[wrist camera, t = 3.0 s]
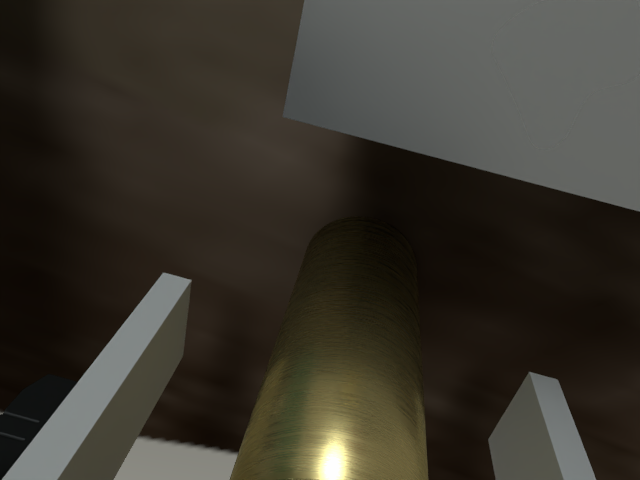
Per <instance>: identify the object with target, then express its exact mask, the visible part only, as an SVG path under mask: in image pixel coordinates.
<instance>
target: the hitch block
mask: <svg viewBox="0 0 640 480" xmlns="http://www.w3.org/2000/svg"><path fill="white" fill-rule="evenodd" d="M283 117H285V118H289V119H293V120H297V121H300V122H304V123H308V124H312V125H315V126H319V127H323V128H327V129H330V130H334V131H338V132H342V133H345V134H349V135H353V136H357V137H361V138H364V139H368V140H372V141H376V142H379V143H383V144H387V145H391V146H394V147H398V148H402V149H406V150H410V151H413V152H417V153H421V154H425V155H428V156H432V157H436V158H440V159H443V160H447V161H451V162H455V163H459V164H462V165H466V166H470V167H474V168H477V169H481V170H485V171H489V172H492V173H496V174H500V175H504V176H507V177H511V178H515V179H519V180H523V181H526V182H530V183H534V184H538V185H541V186H545V187H549V188H553V189H556V190H560V191H564V192H568V193H572V194H575V195H579V196H583V197H587V198H590V199H594V200H598V201H602V202H605V203H609V204H613V205H617V206H620V207H624V208H628V209H632V210H636V211H639V212H640V0H305V1H304V6H303V11H302V17H301V22H300V27H299V33H298V38H297V43H296V48H295V54H294V59H293V64H292V70H291V75H290V80H289V86H288V91H287V96H286V102H285V107H284V112H283Z"/></svg>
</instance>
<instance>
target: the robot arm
mask: <svg viewBox="0 0 640 480" xmlns="http://www.w3.org/2000/svg"><path fill="white" fill-rule="evenodd" d="M190 289H191V280H189V279H185V278H182V277H178V276H174V275H171V274H167V273H163V274H162V275H161V276H160V278H159V279H158V280H157V282H156V283H155V284H154V285H153V287H152V288H151V289H150V291H149V292H148V293H147V294H146V296H145V297H144V298H143V300H142V301H141V302H140V303H139V305H138V306H137V307H136V308H135V310H134V311H133V312H132V314H131V315H130V316H129V317H128V319H127V320H126V321H125V323H124V324H123V325H122V326H121V328H120V329H119V330H118V332H117V333H116V334H115V335H114V337H113V338H112V339H111V340H110V342H109V343H108V344H107V346H106V347H105V348H104V349H103V351H102V352H101V353H100V355H99V356H98V357H97V358H96V360H95V361H94V362H93V363H92V365H91V366H90V367H89V369H88V370H87V371H86V372H85V374H84V375H83V376H82V378H81V379H80V380H79V381H78V382H76V381H73V380H69V379H65V378H62V377H58V376H54V375H51V374H48V375H46V376H45V377H43V378H41V379H40V380H38V381H36V382H35V383H33V384H31V385H30V386H28V387H26V388H25V389H23V390H22V391H21V393H20V394H19V395H18V396H17V397H16V398H15V399H14V400H13V401H12V403H11V404H10V405H9V406H8V407H7V408H6V409H5V411H4V413H3V414H1V415H0V480H113V479H114V478H115V476H116V474H117V472H118V470H119V469H120V467H121V465H122V463H123V462H124V460H125V458H126V456H127V454H128V453H129V451H130V449H131V447H132V446H133V444H134V442H135V440H136V439H137V437H138V435H139V433H140V431H141V430H142V428H143V426H144V424H145V423H146V421H147V419H148V417H149V415H150V414H151V412H152V410H153V408H154V407H155V405H156V403H157V401H158V399H159V398H160V396H161V394H162V392H163V391H164V389H165V387H166V385H167V383H168V382H169V380H170V378H171V376H172V375H173V373H174V371H175V369H176V367H177V366H178V364H179V362H180V360H181V359H182V357H183V351H184V342H185V333H186V324H187V315H188V307H189V298H190ZM488 441H489V446H490V451H491V457H492V462H493V468H494V473H495V478H496V480H596V478H595V475H594V473H593V470H592V468H591V465H590V462H589V460H588V457H587V455H586V452H585V449H584V447H583V444H582V441H581V439H580V436H579V434H578V431H577V428H576V426H575V423H574V421H573V418H572V415H571V413H570V410H569V408H568V405H567V402H566V400H565V397H564V395H563V392H562V389H561V387H560V384H559V382H558V380H557V379H554V378H550V377H546V376H543V375H539V374H535V373H532V372H529V373H528V375H527V376H526V378H525V380H524V381H523V383H522V385H521V386H520V388H519V390H518V391H517V393H516V395H515V396H514V398H513V399H512V401H511V403H510V404H509V406H508V408H507V409H506V411H505V413H504V414H503V416H502V418H501V419H500V421H499V423H498V424H497V426H496V428H495V429H494V431H493V433H492V434H491V436H490V438H489V439H488Z"/></svg>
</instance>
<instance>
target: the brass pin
mask: <svg viewBox="0 0 640 480" xmlns="http://www.w3.org/2000/svg"><path fill="white" fill-rule="evenodd" d="M230 480H428V465H427V447H426V429H425V411H424V392H423V374H422V356H421V338H420V319H419V301H418V283H417V265H416V258H415V254H414V251H413V249H412V247H411V245H410V243H409V242H408V240H407V239H406V238H405V237H404V236H403V234H402V233H401V232H399V231H398V230H397V229H396V228H394V227H393V226H391V225H389V224H387V223H385V222H383V221H380V220H377V219H374V218H369V217H360V216H358V217H347V218H342V219H339V220H336V221H333V222H331V223H329V224H328V225H326V226H324V227H323V228H322V229H320V230H319V231H318V232H317V233H316V234H315V235H314V237H313V238H312V239H311V241H310V243H309V245H308V247H307V250H306V253H305V256H304V259H303V262H302V265H301V268H300V271H299V274H298V277H297V280H296V283H295V286H294V289H293V292H292V295H291V298H290V301H289V304H288V307H287V310H286V313H285V316H284V319H283V322H282V325H281V328H280V331H279V334H278V337H277V340H276V343H275V346H274V349H273V352H272V355H271V358H270V361H269V364H268V367H267V370H266V373H265V376H264V379H263V382H262V385H261V388H260V391H259V394H258V397H257V400H256V403H255V406H254V409H253V412H252V415H251V418H250V420H249V423H248V426H247V429H246V432H245V435H244V438H243V441H242V444H241V447H240V450H239V453H238V456H237V459H236V462H235V465H234V468H233V471H232V474H231V477H230Z"/></svg>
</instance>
